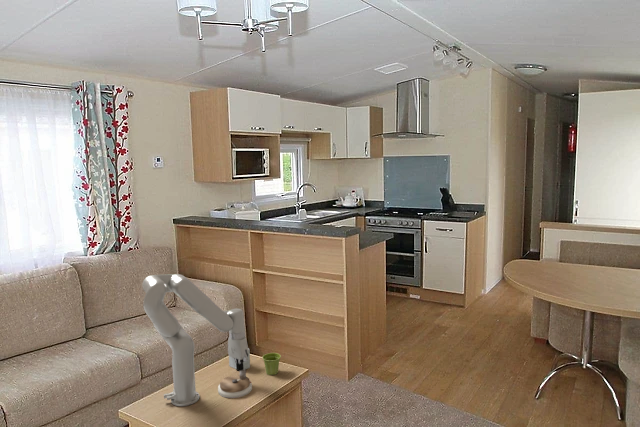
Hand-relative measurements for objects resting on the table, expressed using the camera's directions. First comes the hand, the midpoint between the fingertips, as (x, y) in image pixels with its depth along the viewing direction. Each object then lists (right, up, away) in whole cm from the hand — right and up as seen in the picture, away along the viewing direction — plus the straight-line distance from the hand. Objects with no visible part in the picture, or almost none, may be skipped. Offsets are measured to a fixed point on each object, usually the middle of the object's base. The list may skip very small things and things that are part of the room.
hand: (240, 370), depth 228 cm
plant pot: (+15, -5, +11) cm, 19 cm away
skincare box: (-4, -5, +19) cm, 20 cm away
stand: (-1, -7, -5) cm, 9 cm away
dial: (-2, -5, -6) cm, 8 cm away
